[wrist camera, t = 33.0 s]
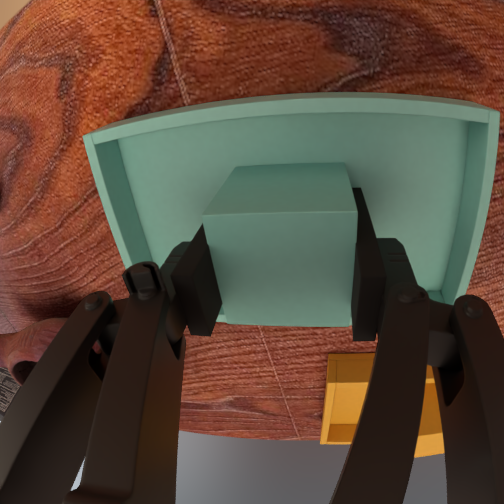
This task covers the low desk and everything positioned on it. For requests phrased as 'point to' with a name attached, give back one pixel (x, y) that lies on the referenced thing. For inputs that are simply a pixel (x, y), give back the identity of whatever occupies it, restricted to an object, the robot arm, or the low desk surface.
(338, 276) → the teal block
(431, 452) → the ochre block
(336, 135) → the teal tray
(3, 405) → the small box
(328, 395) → the ochre tray
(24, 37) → the low desk surface
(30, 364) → the bowl
